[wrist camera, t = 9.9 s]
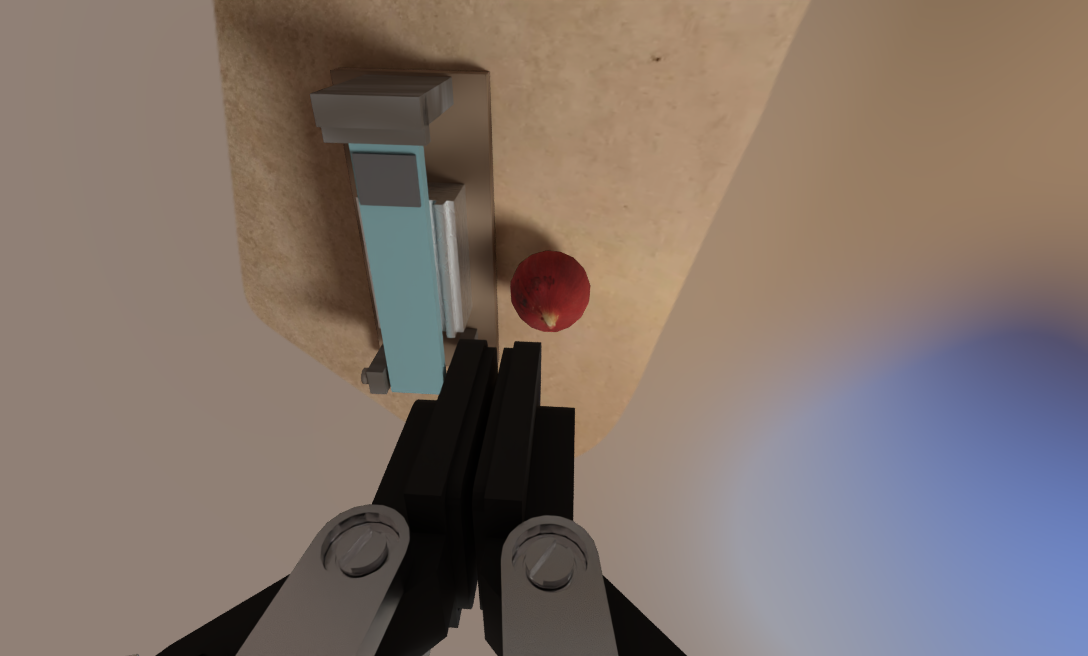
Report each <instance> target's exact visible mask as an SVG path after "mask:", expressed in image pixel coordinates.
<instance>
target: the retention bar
mask: <svg viewBox="0 0 1088 656" xmlns="http://www.w3.org/2000/svg"><path fill="white" fill-rule="evenodd" d="M349 149H350V155H351V161H352V166H353V172H354V178H355V184H356V189H357V195H358V201H359V207H360V212H361V218H362V224H363V230H364V235H365V241H366V247H367V252H368V258H369V264H370V270H371V275H372V281H373V287H374V293H375V298H376V304H377V310H378V316H379V321H380V327H381V333H382V339H383V344H384V350H385V356H386V361H387V367H388V373H389V379H390V384H391V390H392V392H402V393H421V394H439V393H440V391H441V388H442V385H443V382H444V380H445V377H446V365H445V355H444V345H443V335H442V325H441V315H440V306H439V296H438V286H437V276H436V266H435V256H434V246H433V236H432V226H431V216H430V206H429V196H428V187H427V177H426V167H425V157H424V147H423V146H412V145H383V144H353V143H349Z"/></svg>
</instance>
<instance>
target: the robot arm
mask: <svg viewBox="0 0 1088 656" xmlns="http://www.w3.org/2000/svg"><path fill="white" fill-rule="evenodd" d="M540 394H541V342H520V341H515V342H514V347H513V348H504V350H503V354H502V359H501V363H500V368H499V372H498V359H497V348H496V347H488V343H487V340H480V339H459V341H458V343H457V346H456V349H455V352H454V354H453V357H452V360H451V363H450V366H449V368H448V371H447V374H446V377H445V380H444V382H443V385H442V388H441V391H440V393H439V396H438V399H437V400H419V399H418V400H416V401H415V402H414V404H413V406H412V408H411V411H410V413H409V415H408V418H407V420H406V423H405V425H404V428H403V430H402V432H401V435H400V437H399V440H398V442H397V444H396V447H395V449H394V452H393V454H392V457H391V459H390V461H389V464H388V466H387V469H386V471H385V473H384V476H383V478H382V481H381V483H380V485H379V488H378V490H377V493H376V495H375V498H374V500H373V502H372V505H371V504H369V505H364V506H358V507H354V508H351V509H349V510H347V511H345V512H342V513H340V514H339V515H337V516H336V517H334V518H333V519H332V520H330V521H329V522H327V523H326V525H325V526H324V527H323V528H322V529H321V530H320V531H319V533H318V534H317V535H316V537H315V538H314V540H313V541H312V543H311V544H310V546H309V547H308V549H307V550H306V551H305V553H304V554H303V556H302V557H301V559H300V561H299V562H298V563H297V565H296V566H295V568H294V570H293V571H292V572H291V574H289V575H287V576H286V577H284V578H282V579H281V580H279V581H278V582H276V583H274V584H272V585H271V586H269V587H267V588H266V589H264V590H262V591H261V592H259V593H257V594H256V595H254V596H252V597H250V598H249V599H247V600H246V601H244V602H242V603H241V604H239V605H237V606H235V607H234V608H232V609H231V610H229V611H227V612H225V613H224V614H222V615H220V616H218V617H217V618H215V619H214V620H212V621H210V622H208V623H207V624H205V625H204V626H202V627H200V628H198V629H197V630H195V631H193V632H192V633H190V634H188V635H187V636H185V637H183V638H181V639H180V640H178V641H176V642H175V643H173V644H171V645H170V646H168V647H167V648H166V649H164V650H163V651H162V652H160V653H159V654H157V655H156V656H429V655H430V649H431V648H433V647H434V646H435V645H436V644H438V643H439V642H440V641H441V640H443V639H444V638H445V637H447V633H448V628H449V627H452V628H458V625H459V620H460V615H461V610H462V609H471V608H472V607H473V603H474V598H475V591H476V586H477V581H478V587H479V599H480V609H481V610H483V620H484V632H485V640H486V641H487V642H488V644H489V645H490V646H491V648H492V649H493V650H494V651H495V653H496V654H497V655H498V656H687V655H686V654H684V652H682V651H681V650H680V649H679V648H678V647H677V646H676V645H675V644H674V643H673V642H672V641H671V640H670V639H669V638H668V637H667V636H666V635H665V634H664V633H662V631H660V629H659V628H657V627H656V626H655V625H654V624H653V623H652V622H651V621H650V620H649V619H648V618H647V617H646V616H645V615H644V614H643V613H642V612H641V611H640V610H639V609H638V608H637V607H636V606H634V605H633V603H631V602H630V601H629V600H628V599H627V598H626V597H625V596H624V595H623V594H622V593H621V592H620V591H619V590H618V589H617V588H616V587H615V586H613V584H612V583H611V582H609V580H608V579H606V578H605V577H604V576H603V575H602V570H601V565H600V560H599V555H598V551H597V548H596V546H595V543H594V540H593V539H592V538H591V536H590V535H589V534H588V533H587V531H586V530H585V529H584V528H582V527H581V526H580V525H578V524H576V523H575V522H574V521H573V499H574V496H573V495H574V435H575V408H568V407H549V406H540ZM130 656H139V655H138V654H136V655H130Z"/></svg>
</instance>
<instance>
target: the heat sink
mask: <svg viewBox="0 0 1088 656" xmlns="http://www.w3.org/2000/svg"><path fill="white" fill-rule="evenodd" d="M427 187H428V196H429V206H430V216H431V226H432V236H433V246H434V256H435V266H436V276H437V286H438V296H439V306H440V315H441V325H442V331H446V335H447V338H455V336H456V333H457V332H464V330H465V327H466V324H467V322H468V319H469V316H470V313H471V310H472V292H471V276H470V260H469V244H468V228H467V212H466V196H465V184H452V183H427ZM356 201H357V207H358V212H359V218H360V224H361V229H362V235H363V241H364V246H365V252H366V258H367V263H368V269H369V275H370V280H371V286H372V292H373V297H374V303H375V309H376V314H377V320H378V326H379V328H381V327H380V321H379V316H378V310H377V304H376V298H375V293H374V287H373V281H372V275H371V270H370V264H369V258H368V252H367V247H366V241H365V235H364V230H363V224H362V218H361V212H360V207H359V201H358V196H357V197H356Z"/></svg>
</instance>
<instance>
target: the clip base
mask: <svg viewBox="0 0 1088 656" xmlns="http://www.w3.org/2000/svg"><path fill="white" fill-rule="evenodd" d="M330 72H331V77H332V83H333V86H331V87H328V88H325V89H322V90H319V91H317V92H314V93H311V94H310V98H311V103H312V108H313V113H314V117H315V122H316V127H321V130H322V135H323V140H324V143H343V144H344V150H345V155H346V161H347V167H348V172H349V178H350V183H351V189H352V194H353V200H354V206H355V211H356V217H357V222H358V228H359V233H360V239H361V245H362V250H363V256H364V261H365V267H366V273H367V278H368V284H369V289H370V295H371V300H372V306H373V312H374V317H375V323H376V328H377V334H378V339H379V345H380V349H379V351H378V353H377V354H376V356H375V358H374V359H373V361H372V363H371V365H370V366H369V368H364V369H363V370H362V374H361V381H362V383H363V384H369V387H370V392H371V393H372V394H387V392H388V390H389V388H390V386H391V384H390V379H389V373H388V367H387V361H386V356H385V350H384V344H383V339H382V333H381V328H379V326H378V320H377V314H376V309H375V303H374V297H373V292H372V286H371V280H370V275H369V269H368V263H367V258H366V252H365V246H364V241H363V235H362V229H361V224H360V218H359V212H358V207H357V201H356V197H357V196H358V195H357V189H356V184H355V178H354V172H353V166H352V161H351V155H350V149H349V143H353V144H383V145H412V146H423V147H424V157H425V167H426V177H427V183H452V184H465V196H466V212H467V228H468V244H469V260H470V276H471V292H472V310H471V313H470V316H469V319H468V322H467V324H466V327H465V330H464V332H457V333H456V336H455V338H447V335H446V331H442V335H443V345H444V355H445V365H446V366H450V363H451V360H452V357H453V354H454V352H455V349H456V346H457V343H458V341H459V339H480V340H487V343H488V347H496V348H497V359H498V362H499V337H498V306H497V276H496V246H495V216H494V185H493V155H492V125H491V95H490V72H481V71H445V70H409V69H373V68H336V69H333V70H330Z"/></svg>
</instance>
